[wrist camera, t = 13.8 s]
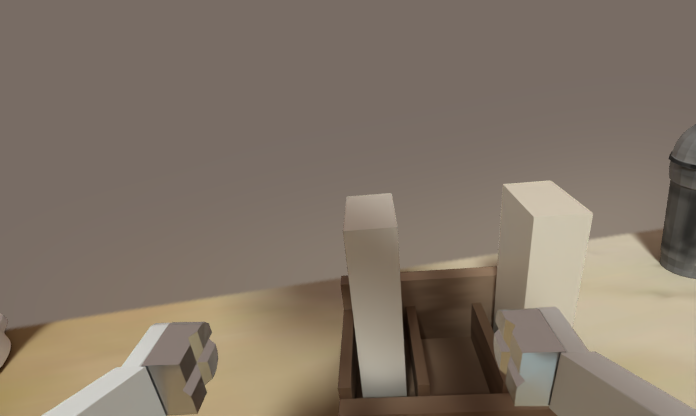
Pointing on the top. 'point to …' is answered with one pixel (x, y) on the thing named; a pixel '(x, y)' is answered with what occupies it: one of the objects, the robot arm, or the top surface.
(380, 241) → the clay strip
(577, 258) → the clay strip
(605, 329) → the top surface
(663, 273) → the top surface
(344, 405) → the wooden divided tray
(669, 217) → the beverage cup
